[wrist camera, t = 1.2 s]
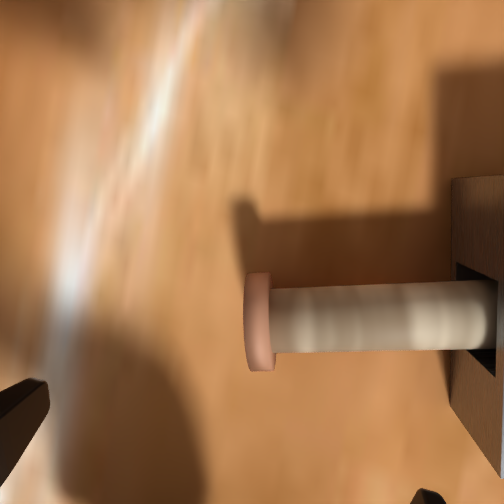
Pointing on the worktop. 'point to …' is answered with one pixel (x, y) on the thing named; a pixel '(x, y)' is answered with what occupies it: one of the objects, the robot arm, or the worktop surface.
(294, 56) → the worktop surface
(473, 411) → the block
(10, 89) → the worktop surface
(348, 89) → the worktop surface
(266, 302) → the pin
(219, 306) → the worktop surface
